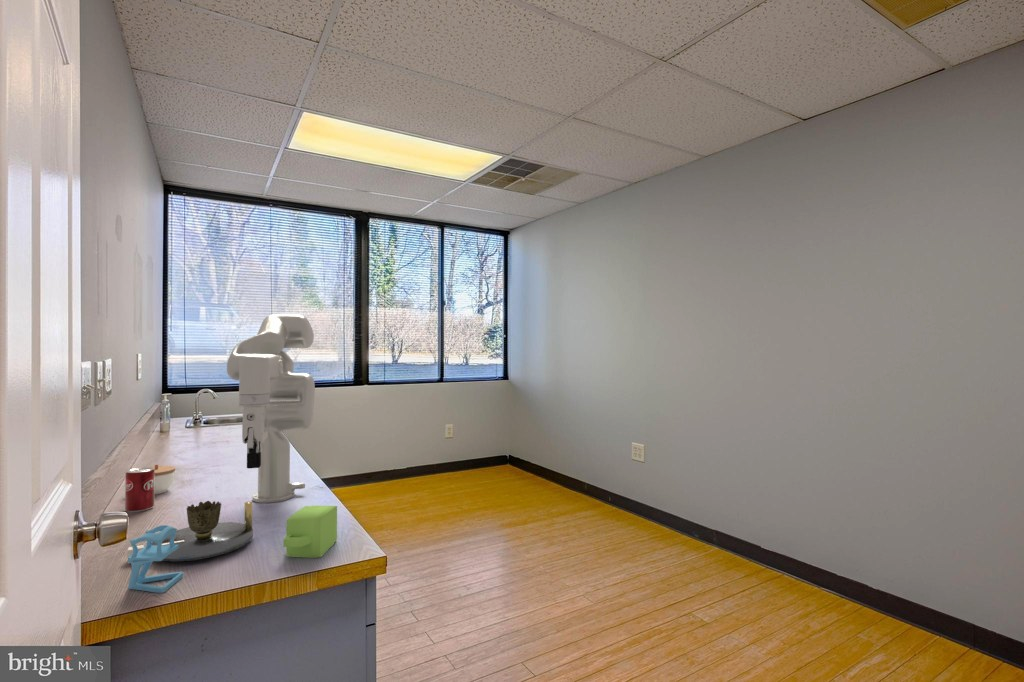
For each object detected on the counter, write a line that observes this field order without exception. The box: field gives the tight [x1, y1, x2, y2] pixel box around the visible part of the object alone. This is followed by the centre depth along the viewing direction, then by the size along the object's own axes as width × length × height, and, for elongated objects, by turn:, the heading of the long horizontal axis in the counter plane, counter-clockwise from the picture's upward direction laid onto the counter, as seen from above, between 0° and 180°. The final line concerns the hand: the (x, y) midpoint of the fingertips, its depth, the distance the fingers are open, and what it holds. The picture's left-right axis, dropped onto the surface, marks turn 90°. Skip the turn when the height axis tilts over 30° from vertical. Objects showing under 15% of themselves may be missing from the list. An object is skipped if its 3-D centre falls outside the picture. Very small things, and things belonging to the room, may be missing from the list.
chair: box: [127, 524, 184, 594], centre depth 107 cm, size 8×8×12 cm
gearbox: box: [282, 505, 338, 559], centre depth 127 cm, size 18×10×10 cm, turn 178°
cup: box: [185, 500, 222, 539], centre depth 127 cm, size 8×7×8 cm
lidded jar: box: [150, 463, 176, 495], centre depth 173 cm, size 11×11×9 cm
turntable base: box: [127, 544, 145, 564], centre depth 124 cm, size 22×14×3 cm, turn 125°
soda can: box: [124, 466, 156, 513], centre depth 156 cm, size 7×7×12 cm
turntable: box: [152, 501, 254, 562], centre depth 126 cm, size 22×22×8 cm
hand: (253, 467), depth 139 cm, fingers closed
